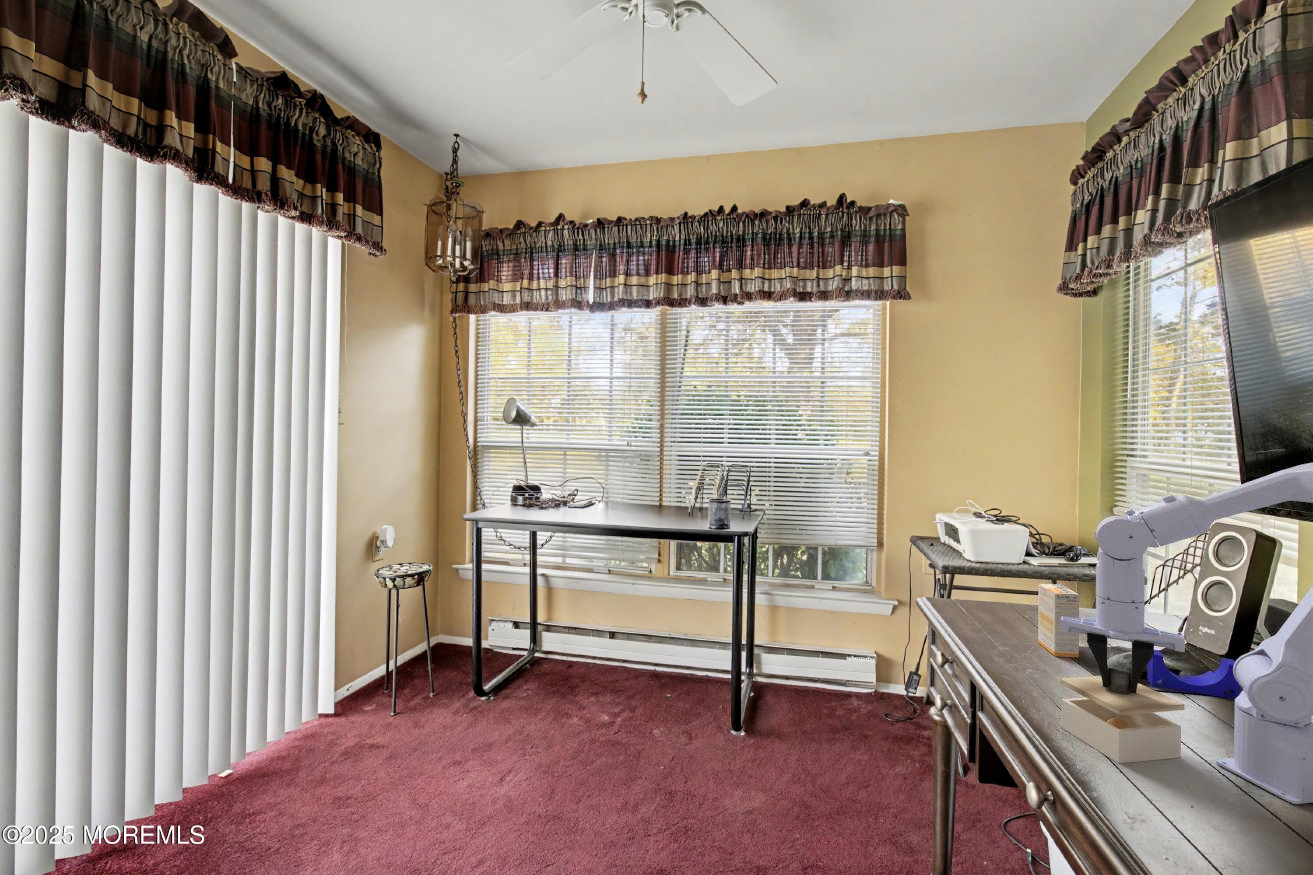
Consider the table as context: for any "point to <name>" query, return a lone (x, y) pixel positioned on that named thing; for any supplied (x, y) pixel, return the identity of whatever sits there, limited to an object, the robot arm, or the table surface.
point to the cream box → (1121, 732)
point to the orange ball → (1118, 723)
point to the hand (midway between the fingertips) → (1119, 687)
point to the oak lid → (1121, 694)
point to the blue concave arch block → (1195, 679)
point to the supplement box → (1057, 619)
